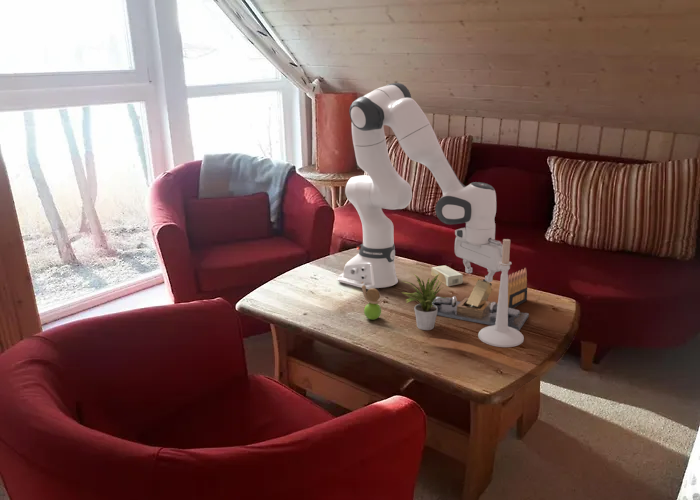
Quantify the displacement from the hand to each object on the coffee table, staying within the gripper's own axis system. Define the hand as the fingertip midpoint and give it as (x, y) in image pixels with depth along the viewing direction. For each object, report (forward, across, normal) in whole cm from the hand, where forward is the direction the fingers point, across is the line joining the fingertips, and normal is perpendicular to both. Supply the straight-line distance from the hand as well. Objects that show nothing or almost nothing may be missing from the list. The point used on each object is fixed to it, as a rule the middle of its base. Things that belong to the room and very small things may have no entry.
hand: (478, 276), depth 183 cm
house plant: (+12, 0, +20) cm, 23 cm away
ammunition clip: (+12, -2, -15) cm, 20 cm away
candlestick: (+12, -18, +7) cm, 23 cm away
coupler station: (+12, -1, +2) cm, 12 cm away
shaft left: (+11, +7, +9) cm, 16 cm away
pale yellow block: (+9, -2, +3) cm, 10 cm away
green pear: (+12, +13, +32) cm, 36 cm away
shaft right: (+11, -10, -2) cm, 15 cm away
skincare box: (+10, +22, -9) cm, 26 cm away
